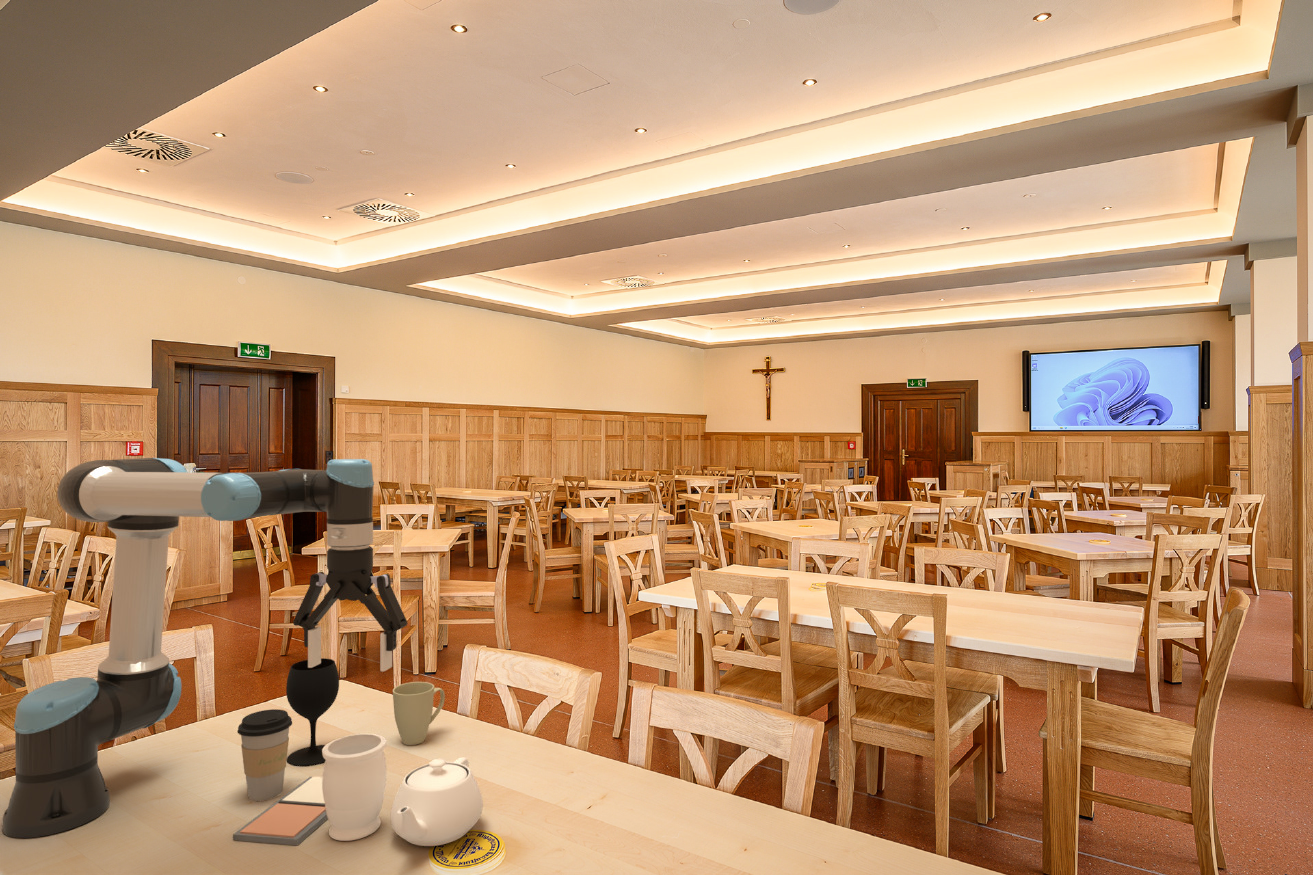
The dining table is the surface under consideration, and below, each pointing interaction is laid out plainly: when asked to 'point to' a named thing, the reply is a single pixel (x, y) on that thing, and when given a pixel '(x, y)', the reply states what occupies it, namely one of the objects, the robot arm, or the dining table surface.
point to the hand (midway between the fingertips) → (350, 667)
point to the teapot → (437, 803)
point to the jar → (354, 784)
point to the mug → (415, 710)
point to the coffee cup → (265, 752)
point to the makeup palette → (288, 817)
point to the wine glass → (311, 703)
